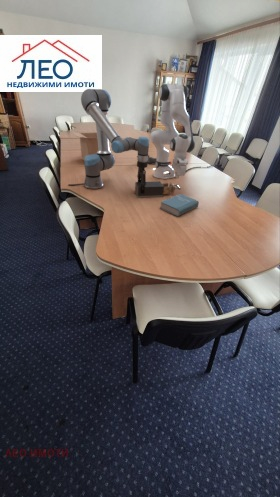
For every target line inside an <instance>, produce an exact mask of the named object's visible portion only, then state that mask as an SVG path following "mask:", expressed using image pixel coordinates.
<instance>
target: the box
mask: <svg viewBox="0 0 280 497" xmlns="http://www.w3.org/2000/svg"><path fill="white" fill-rule="evenodd" d="M70 133H71V134H72V135H74V136H75V137H77V138H79V144H80V153H81V160H83V161H84V159H85V157H86V156H87V155H90V154H97V151H98V141H97V131H95V130H92V129H91V130H77V132H76V131H70Z"/></svg>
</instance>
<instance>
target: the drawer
mask: <svg viewBox="0 0 280 497" xmlns="http://www.w3.org/2000/svg"><path fill="white" fill-rule="evenodd" d="M161 183H162V182H161ZM162 184H163V186H164V192H163V195H167V194H172V195H175V191H176V190H179V191H180V190H181V187H180V186H179V185H178V184H173V183H172V182H171V181H170V182H163V183H162Z"/></svg>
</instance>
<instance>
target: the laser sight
mask: <svg viewBox="0 0 280 497" xmlns="http://www.w3.org/2000/svg"><path fill="white" fill-rule="evenodd" d="M156 159H157V157H151V156H150V155H149V154H148V161H147V162H148V164H150V165H155V164H156Z"/></svg>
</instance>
